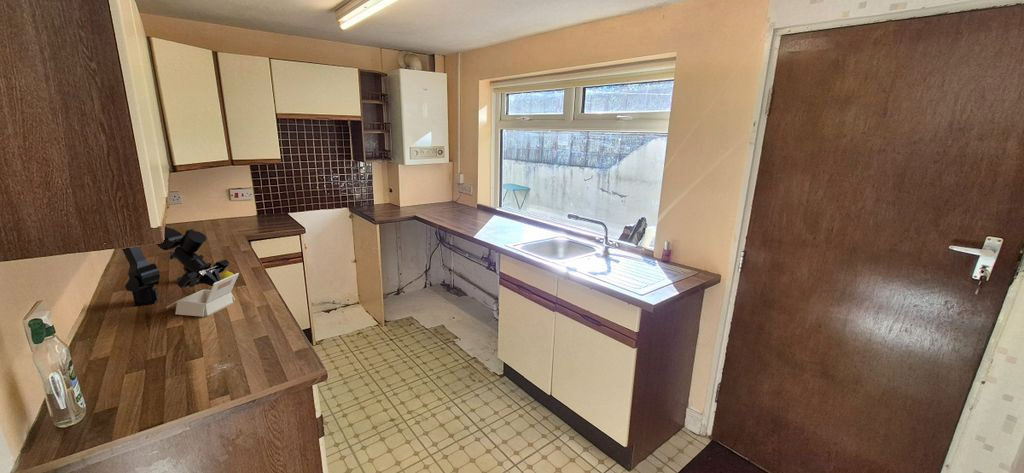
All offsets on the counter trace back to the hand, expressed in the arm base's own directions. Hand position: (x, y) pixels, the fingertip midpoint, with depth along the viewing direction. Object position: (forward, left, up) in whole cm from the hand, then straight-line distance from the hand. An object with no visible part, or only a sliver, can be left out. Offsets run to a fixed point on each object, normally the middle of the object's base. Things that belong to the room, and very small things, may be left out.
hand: (221, 289), depth 156 cm
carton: (-9, +6, -9) cm, 14 cm away
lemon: (-1, +25, -9) cm, 27 cm away
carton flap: (-1, +1, -4) cm, 4 cm away
